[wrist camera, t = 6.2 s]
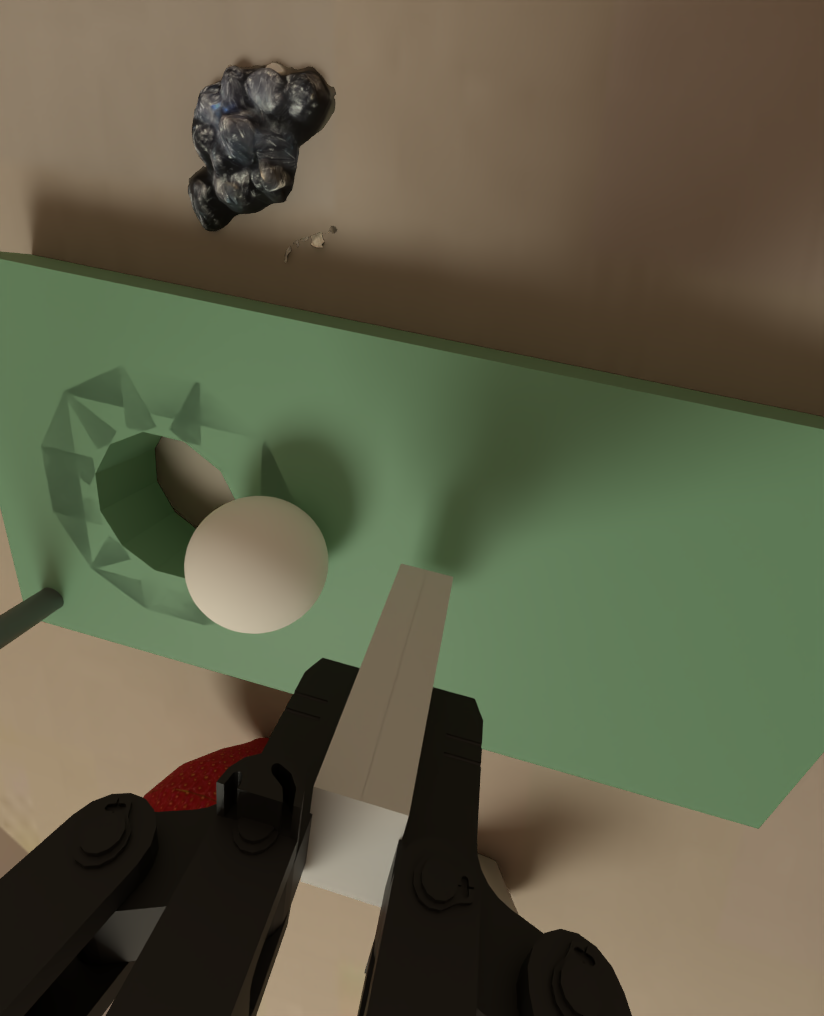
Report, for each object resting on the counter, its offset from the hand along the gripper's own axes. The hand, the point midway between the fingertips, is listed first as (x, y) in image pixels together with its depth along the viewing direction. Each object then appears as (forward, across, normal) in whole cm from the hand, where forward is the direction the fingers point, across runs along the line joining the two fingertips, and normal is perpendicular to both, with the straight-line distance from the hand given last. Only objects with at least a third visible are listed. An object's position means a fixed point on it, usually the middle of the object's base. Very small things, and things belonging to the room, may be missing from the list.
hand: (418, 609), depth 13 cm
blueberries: (+6, +8, -10) cm, 14 cm away
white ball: (0, +5, 0) cm, 5 cm away
